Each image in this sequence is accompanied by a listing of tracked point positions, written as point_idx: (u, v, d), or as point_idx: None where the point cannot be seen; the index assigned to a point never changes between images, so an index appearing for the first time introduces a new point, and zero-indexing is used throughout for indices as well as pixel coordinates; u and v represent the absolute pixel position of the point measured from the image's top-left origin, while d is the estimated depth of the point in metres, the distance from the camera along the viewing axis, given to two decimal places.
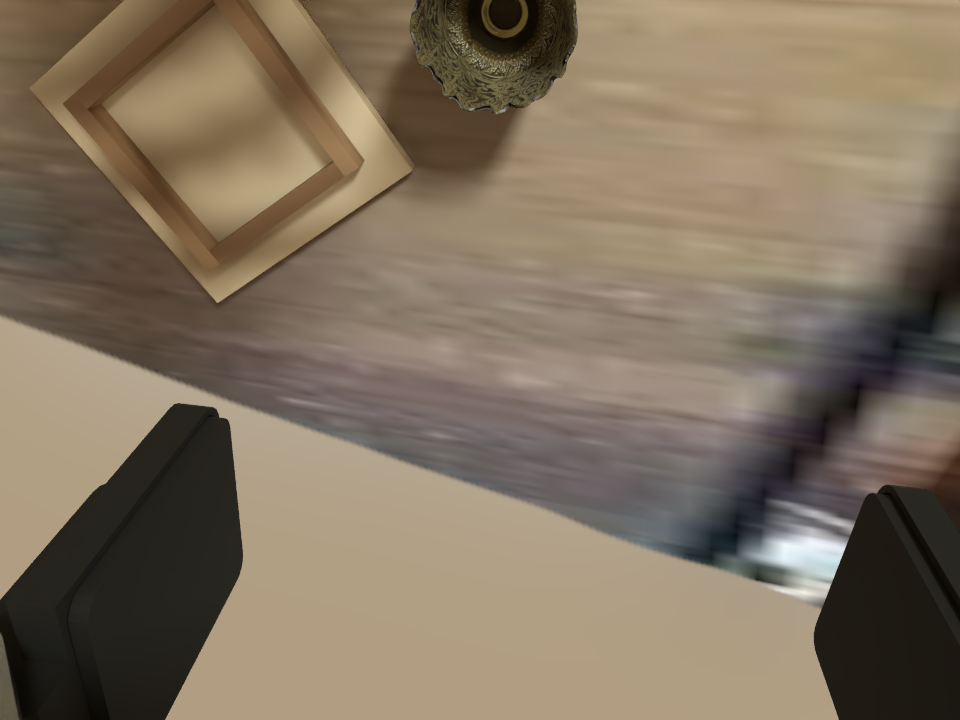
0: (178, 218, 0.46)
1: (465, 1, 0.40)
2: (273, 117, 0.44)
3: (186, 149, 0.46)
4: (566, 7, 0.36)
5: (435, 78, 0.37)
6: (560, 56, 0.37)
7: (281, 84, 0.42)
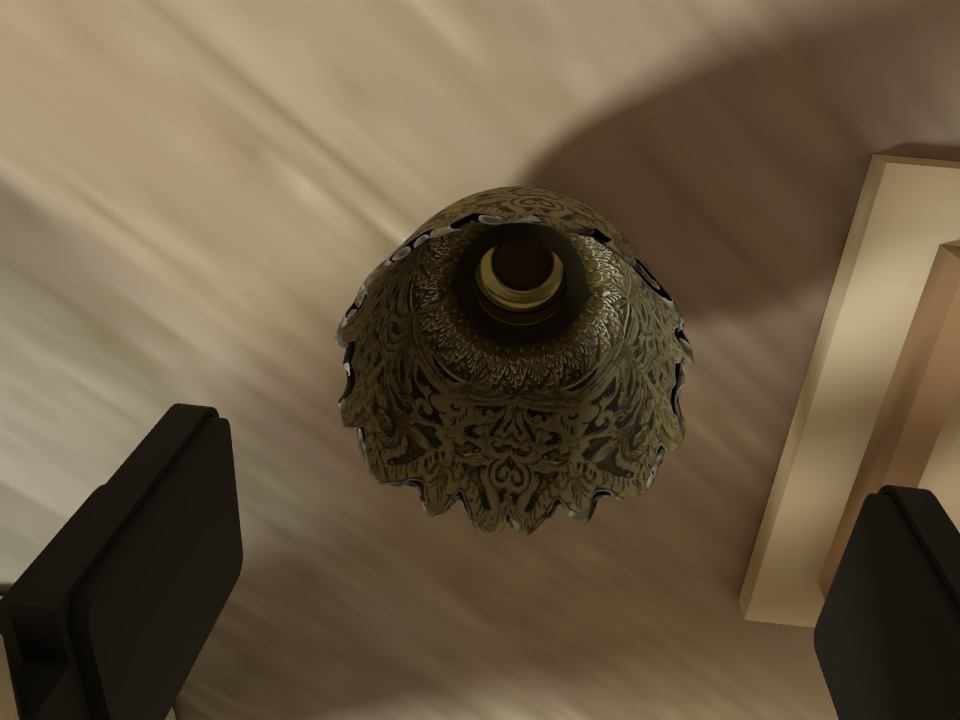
0: None
1: (557, 344, 0.22)
2: None
3: None
4: (386, 282, 0.18)
5: (682, 378, 0.16)
6: None
7: (918, 459, 0.22)
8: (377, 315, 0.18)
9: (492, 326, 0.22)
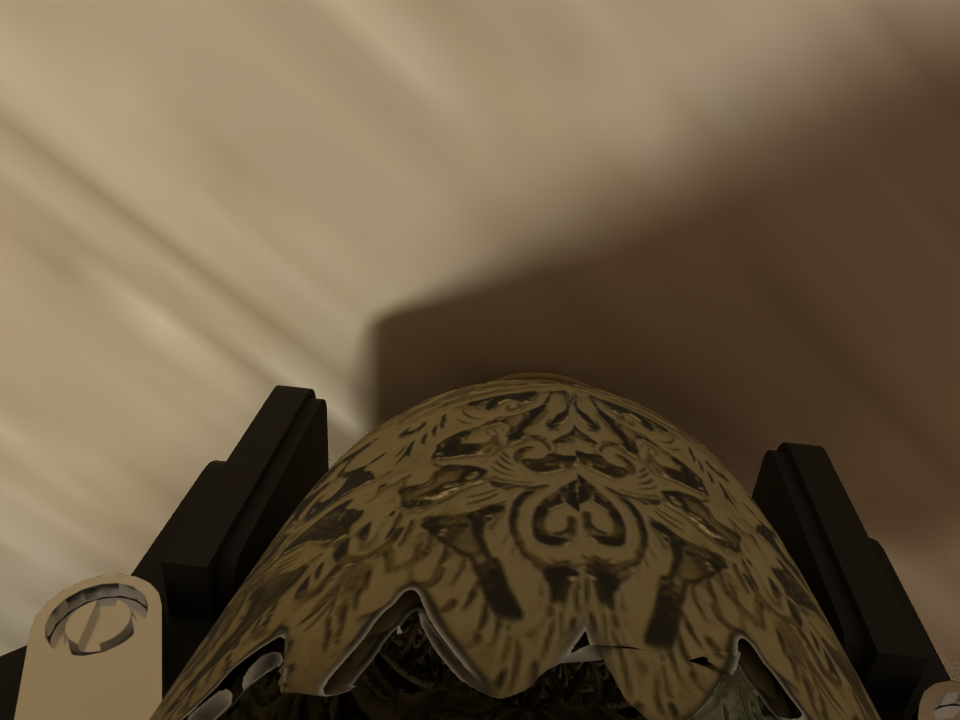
0: None
1: None
2: None
3: None
4: None
5: None
6: None
7: None
8: None
9: None
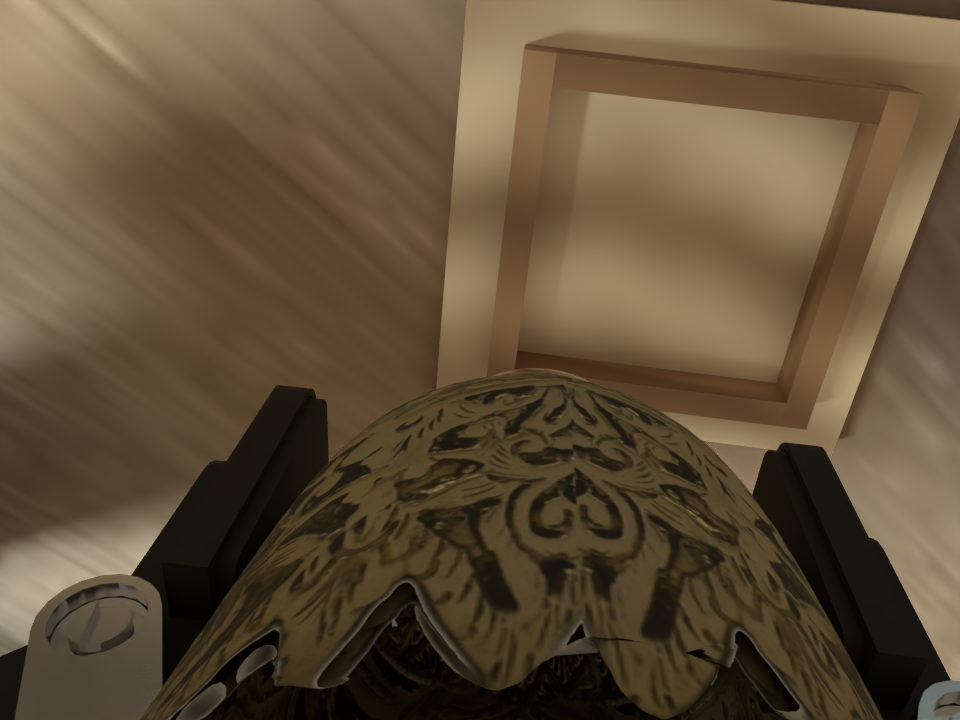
0: (855, 206, 0.25)
1: None
2: (592, 200, 0.27)
3: (744, 261, 0.28)
4: None
5: None
6: None
7: (524, 234, 0.26)
8: None
9: None
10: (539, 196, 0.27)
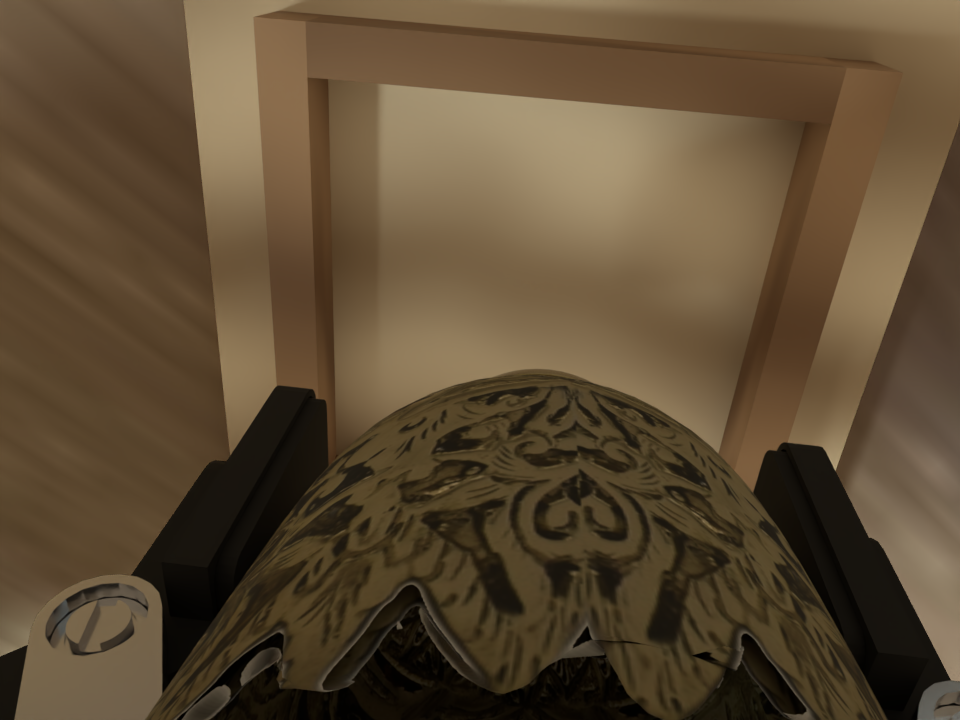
0: (801, 253, 0.16)
1: None
2: (412, 245, 0.18)
3: (646, 329, 0.19)
4: None
5: None
6: None
7: (303, 302, 0.17)
8: None
9: None
10: (335, 241, 0.18)
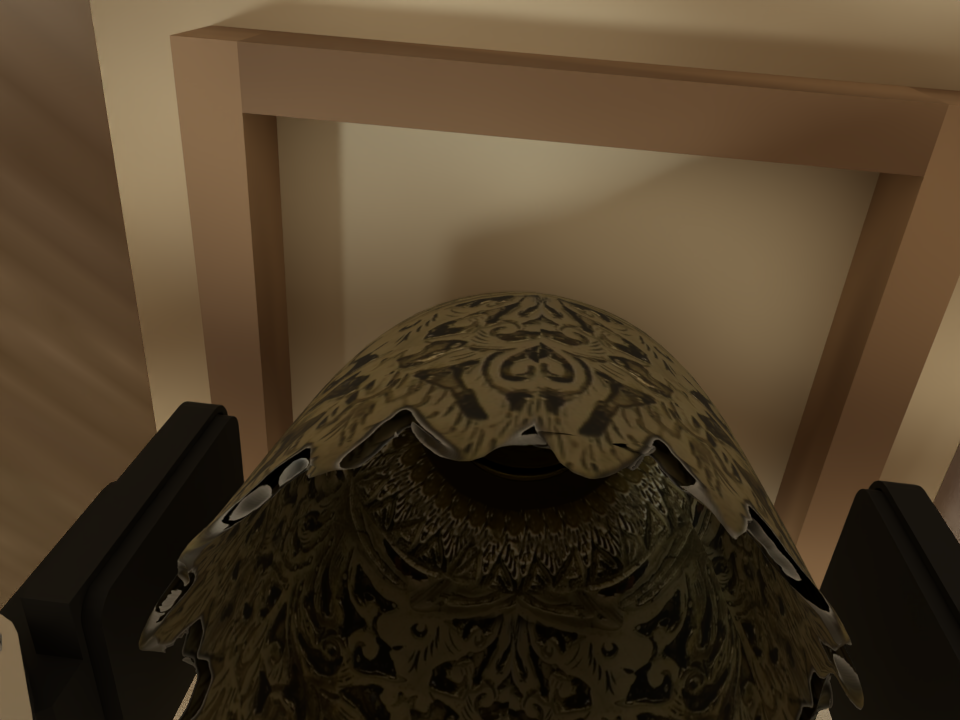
0: (876, 336, 0.12)
1: (582, 511, 0.14)
2: (385, 312, 0.15)
3: None
4: None
5: (825, 697, 0.08)
6: None
7: (248, 386, 0.14)
8: (263, 531, 0.10)
9: (480, 481, 0.14)
10: (290, 306, 0.15)
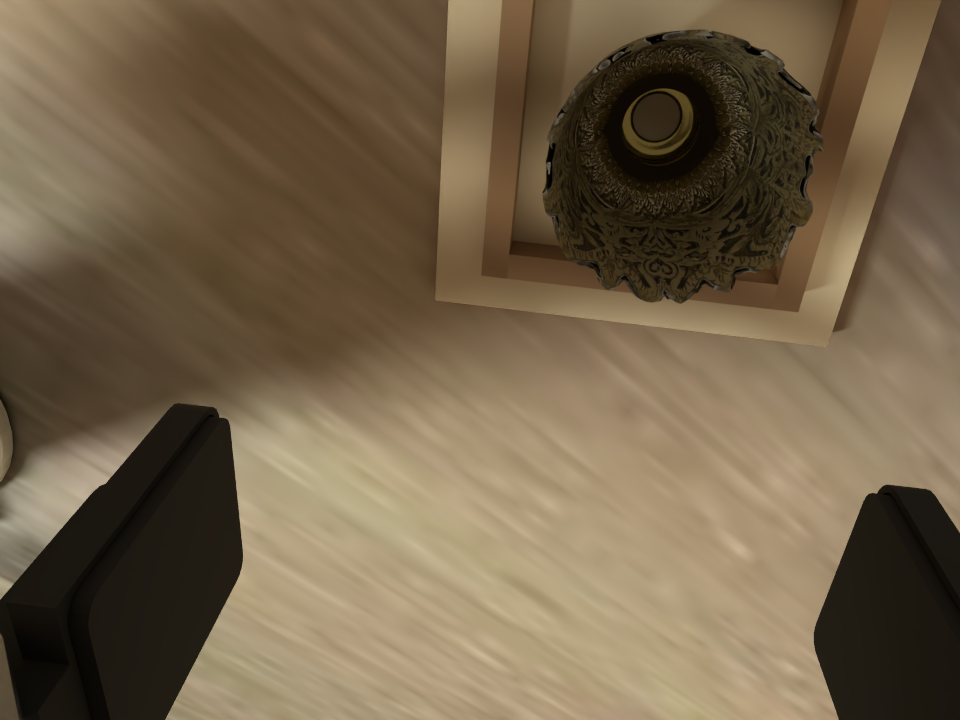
0: (841, 73, 0.25)
1: (688, 179, 0.27)
2: None
3: None
4: (573, 105, 0.23)
5: (810, 170, 0.21)
6: (627, 52, 0.21)
7: (514, 113, 0.27)
8: (562, 135, 0.23)
9: (634, 166, 0.27)
10: (530, 79, 0.28)
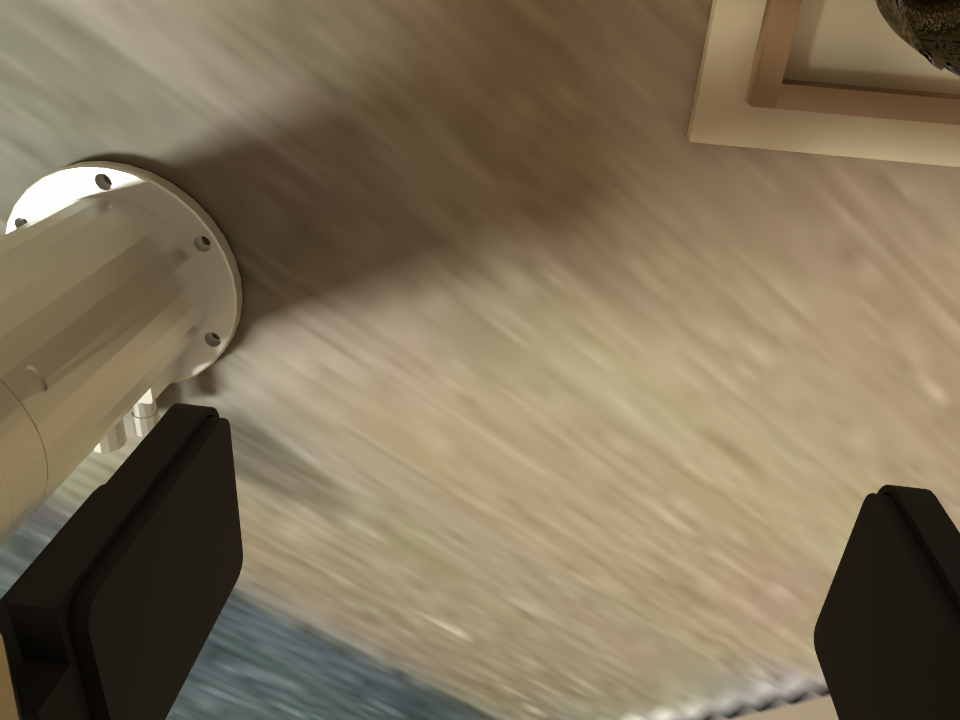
0: None
1: None
2: None
3: None
4: None
5: None
6: None
7: None
8: None
9: None
10: None
